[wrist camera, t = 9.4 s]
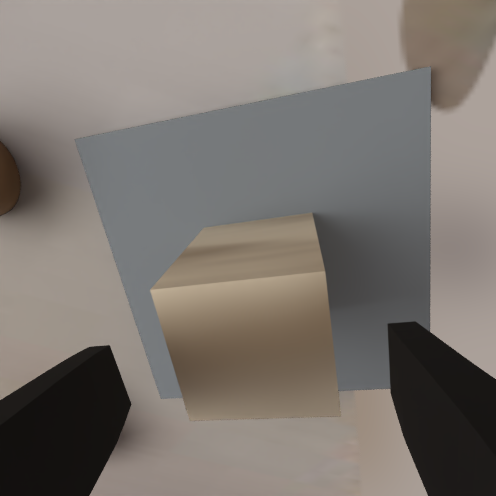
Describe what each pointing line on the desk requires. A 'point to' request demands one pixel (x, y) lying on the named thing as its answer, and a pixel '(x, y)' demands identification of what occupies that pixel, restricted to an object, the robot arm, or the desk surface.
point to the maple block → (251, 322)
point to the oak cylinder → (8, 181)
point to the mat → (284, 203)
